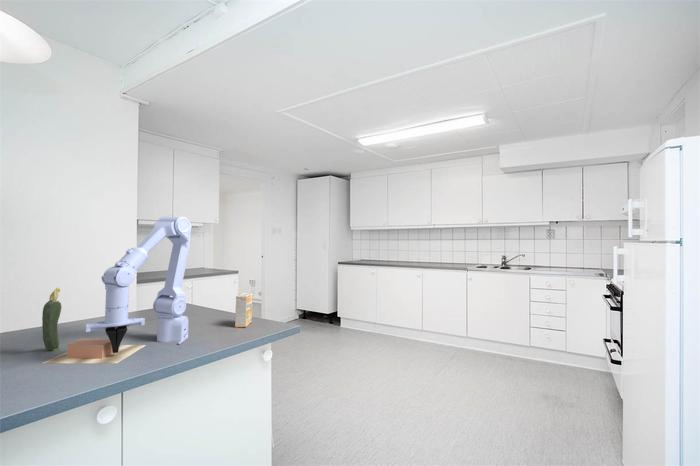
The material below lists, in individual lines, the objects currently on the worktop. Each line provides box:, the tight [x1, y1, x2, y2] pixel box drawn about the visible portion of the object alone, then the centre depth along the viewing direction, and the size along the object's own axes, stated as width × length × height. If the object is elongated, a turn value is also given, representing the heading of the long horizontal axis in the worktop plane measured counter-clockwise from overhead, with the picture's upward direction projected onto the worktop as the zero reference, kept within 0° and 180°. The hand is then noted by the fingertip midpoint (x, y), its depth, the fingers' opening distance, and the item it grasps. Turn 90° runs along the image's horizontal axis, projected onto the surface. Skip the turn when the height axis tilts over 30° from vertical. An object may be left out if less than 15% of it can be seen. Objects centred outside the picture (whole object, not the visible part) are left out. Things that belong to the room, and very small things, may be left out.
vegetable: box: [41, 287, 62, 352], centre depth 104 cm, size 4×4×20 cm
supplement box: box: [234, 292, 254, 328], centre depth 142 cm, size 8×5×13 cm, turn 179°
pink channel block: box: [66, 338, 113, 359], centre depth 101 cm, size 10×6×4 cm, turn 92°
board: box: [42, 344, 147, 364], centre depth 102 cm, size 20×16×3 cm
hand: (115, 351), depth 101 cm, fingers closed
